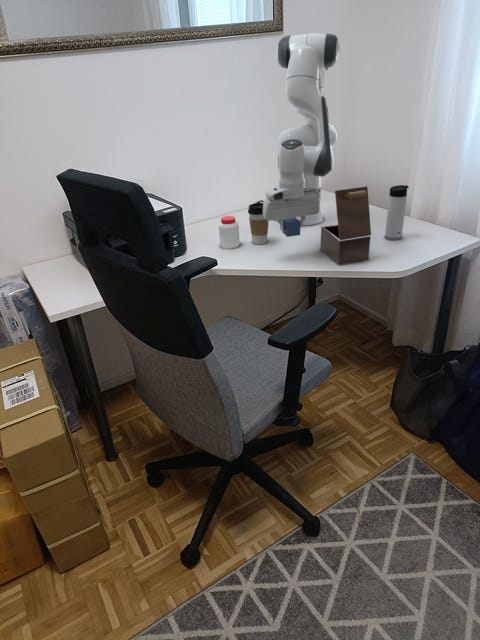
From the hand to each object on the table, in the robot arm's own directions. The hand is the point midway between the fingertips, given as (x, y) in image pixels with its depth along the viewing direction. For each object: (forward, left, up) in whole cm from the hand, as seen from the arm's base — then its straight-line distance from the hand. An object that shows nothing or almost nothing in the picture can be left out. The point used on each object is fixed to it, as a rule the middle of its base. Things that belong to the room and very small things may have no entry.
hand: (291, 228), depth 176 cm
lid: (+20, +8, +6) cm, 22 cm away
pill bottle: (-26, -4, -11) cm, 29 cm away
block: (0, 0, -2) cm, 2 cm away
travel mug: (+24, +36, -11) cm, 44 cm away
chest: (+16, +11, -10) cm, 22 cm away
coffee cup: (-18, +5, -11) cm, 22 cm away
